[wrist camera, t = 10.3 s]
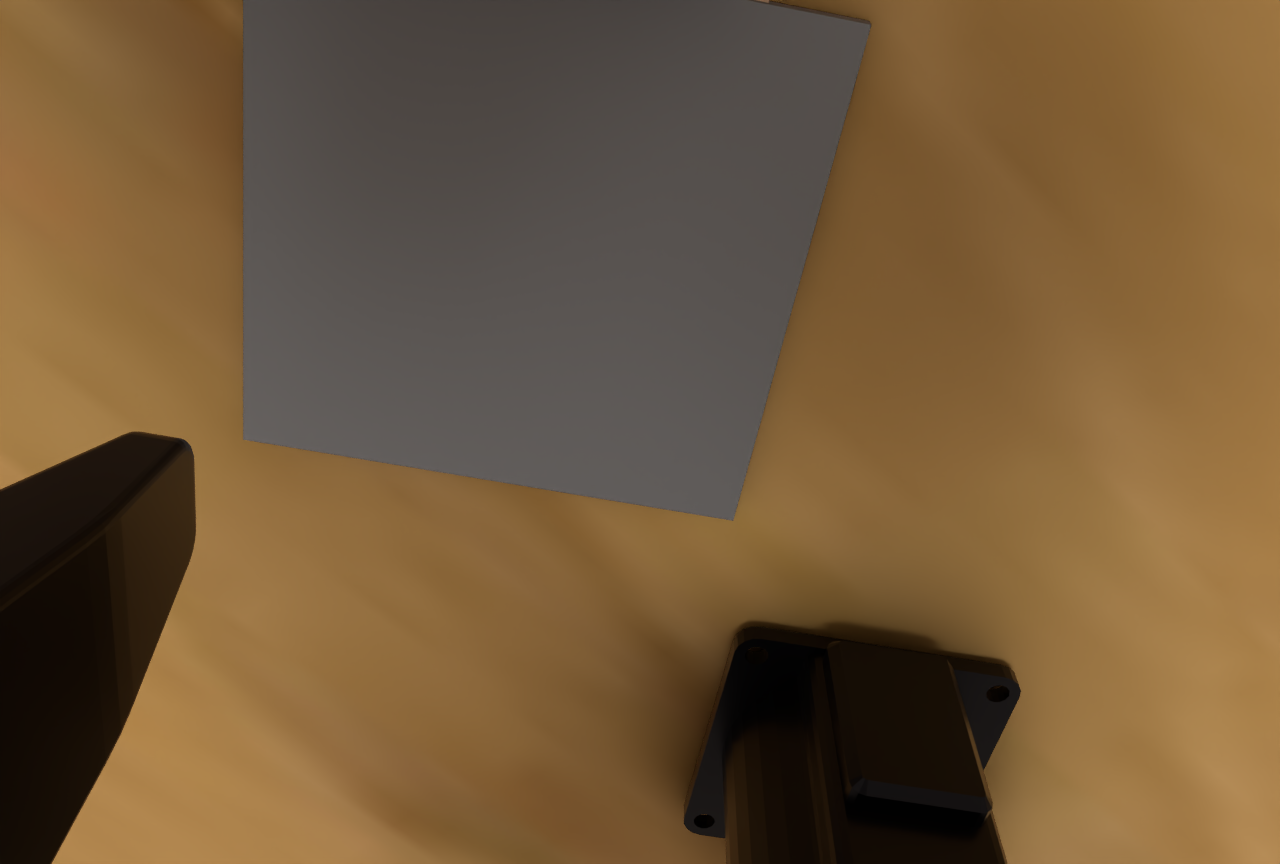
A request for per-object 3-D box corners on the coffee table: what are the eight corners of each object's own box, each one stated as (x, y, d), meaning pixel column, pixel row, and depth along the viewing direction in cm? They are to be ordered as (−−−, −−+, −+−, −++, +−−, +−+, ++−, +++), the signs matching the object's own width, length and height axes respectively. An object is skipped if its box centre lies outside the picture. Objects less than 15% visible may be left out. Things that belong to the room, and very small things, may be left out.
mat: (732, 512, 24) (733, 520, 24) (248, 431, 23) (243, 439, 23) (868, 20, 19) (871, 24, 18) (249, -103, 18) (243, -101, 18)
